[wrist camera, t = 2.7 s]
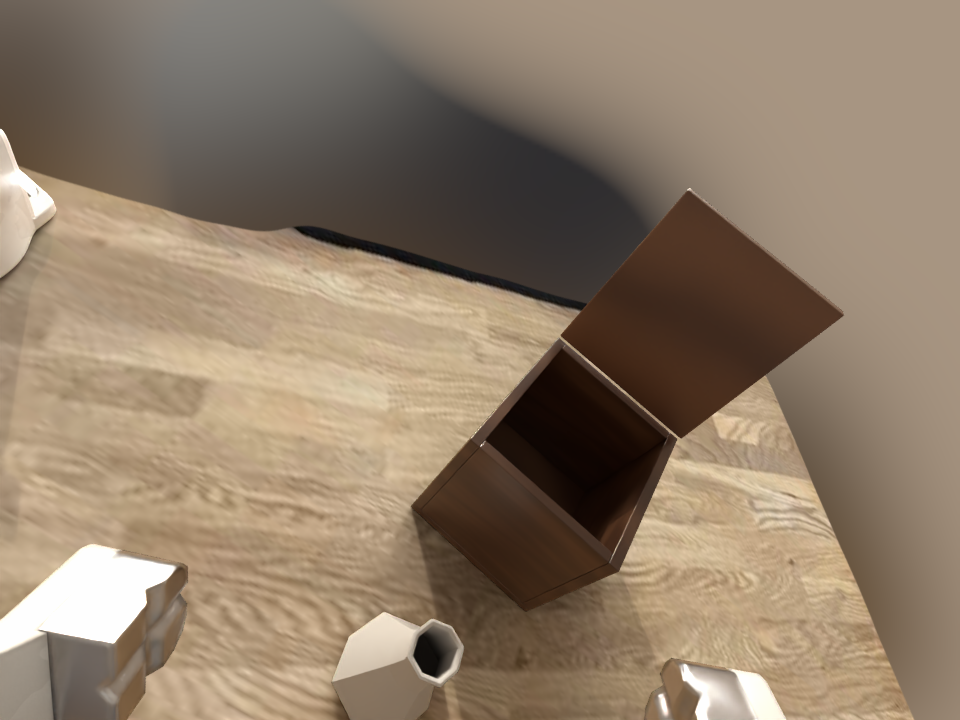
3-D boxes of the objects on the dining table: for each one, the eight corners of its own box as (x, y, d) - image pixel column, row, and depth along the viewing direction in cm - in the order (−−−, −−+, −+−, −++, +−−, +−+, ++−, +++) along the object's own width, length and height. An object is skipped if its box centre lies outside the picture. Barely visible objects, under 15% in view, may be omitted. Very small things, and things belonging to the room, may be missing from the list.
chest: (525, 612, 43) (618, 571, 34) (410, 506, 44) (470, 439, 35) (590, 496, 52) (677, 438, 43) (493, 411, 53) (558, 337, 44)
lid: (844, 315, 33) (843, 311, 34) (688, 189, 34) (689, 187, 35) (680, 439, 42) (682, 433, 43) (559, 335, 43) (563, 331, 44)
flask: (393, 764, 34) (450, 766, 27) (310, 686, 34) (342, 667, 27) (455, 660, 39) (517, 638, 31) (381, 593, 39) (425, 556, 32)
